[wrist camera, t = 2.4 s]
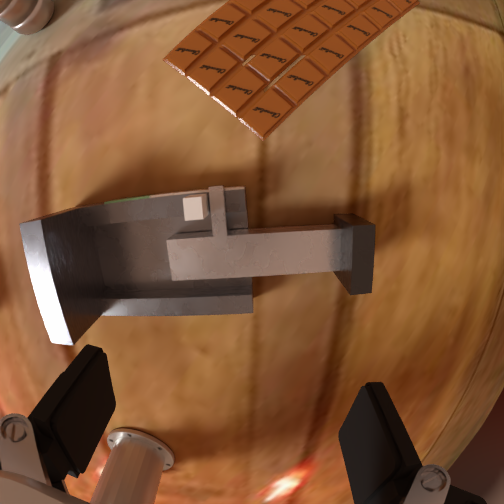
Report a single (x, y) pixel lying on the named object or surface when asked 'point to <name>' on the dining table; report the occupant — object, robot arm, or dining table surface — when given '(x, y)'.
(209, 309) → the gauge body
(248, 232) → the plunger
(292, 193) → the dining table surface
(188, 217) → the small white cube
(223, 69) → the chocolate bar
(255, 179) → the dining table surface
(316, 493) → the dining table surface
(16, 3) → the plastic bottle
